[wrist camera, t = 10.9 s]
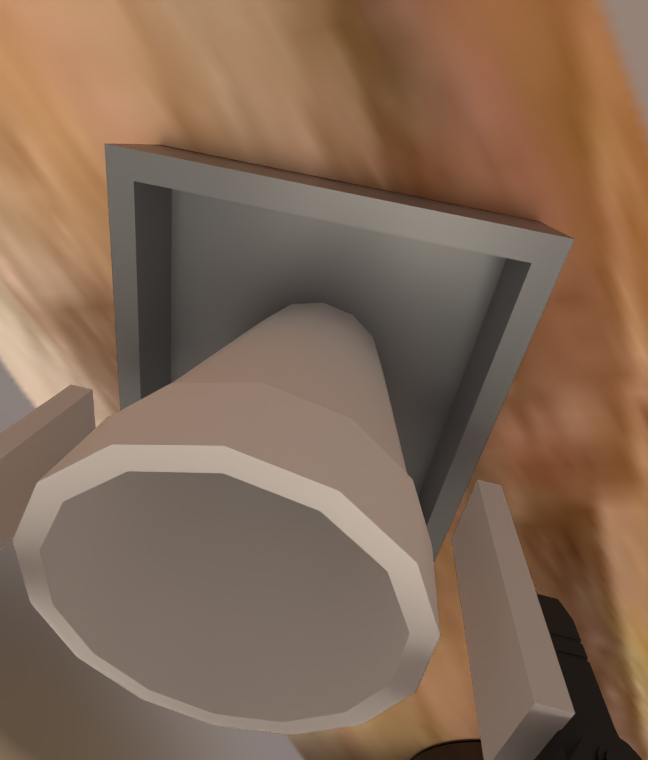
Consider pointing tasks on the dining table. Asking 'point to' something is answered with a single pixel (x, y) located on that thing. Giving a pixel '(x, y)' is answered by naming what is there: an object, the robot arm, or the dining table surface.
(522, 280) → the tray
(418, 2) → the dining table surface
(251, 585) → the foam cup
